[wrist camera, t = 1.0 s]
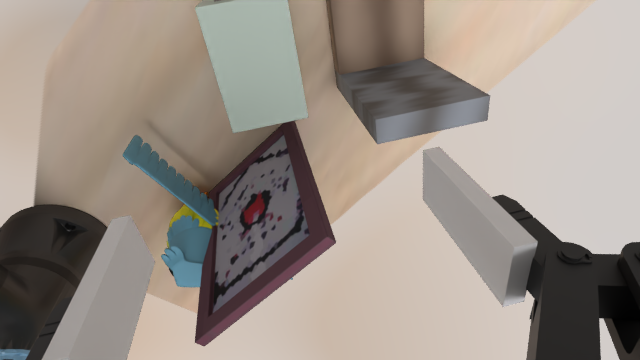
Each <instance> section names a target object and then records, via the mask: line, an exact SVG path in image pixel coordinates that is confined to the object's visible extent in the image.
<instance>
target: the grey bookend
mask: <svg viewBox="0 0 640 360" xmlns="http://www.w3.org/2000/svg"><path fill="white" fill-rule="evenodd" d="M326 3H327V11H328V19H329V27H330V34H331V42H332V50H333V58H334V66H335V74H336V82H337V88H338V89H339V90H340V92H341V93H342V95H343V96H344V98H345V99H346V100H347V102H348V103H349V105H350V106H351V108H352V109H353V110H354V112H355V113H356V115H357V116H358V118H359V119H360V120H361V122H362V123H363V125H364V126H365V128H366V129H367V130H368V132H369V133H370V135H371V136H372V137H373V139H374V140H375V142H376V143H377V144H381V143H385V142H390V141H394V140H399V139H404V138H408V137H413V136H417V135H422V134H427V133H431V132H436V131H441V130H445V129H450V128H454V127H459V126H464V125H468V124H473V123H477V122H482V121H487V119H488V110H489V100H490V95H488V94H486V93H485V92H483V91H481V90H479V89H478V88H476V87H474V86H472V85H471V84H469V83H467V82H465V81H464V80H462V79H460V78H458V77H457V76H455V75H453V74H451V73H450V72H448V71H446V70H444V69H443V68H441V67H439V66H437V65H435V64H434V63H432V62H430V61H428V60H427V59H425V58H424V0H326Z"/></svg>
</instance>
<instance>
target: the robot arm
mask: <svg viewBox="0 0 640 360" xmlns="http://www.w3.org/2000/svg"><path fill="white" fill-rule="evenodd" d="M423 200H424V201H425V203H426V204H427V205H428V207H429V208H430V210H431V211H432V212H433V213H434V215H435V216H436V217H437V219H438V220H439V222H440V223H441V224H442V226H443V227H444V228H445V230H446V231H447V232H448V233H449V235H450V236H451V238H452V239H453V240H454V242H455V243H456V244H457V246H458V247H459V248H460V250H461V251H462V252H463V254H464V255H465V256H466V258H467V259H468V260H469V262H470V263H471V265H472V266H473V267H474V269H475V270H476V271H477V273H478V274H479V275H480V277H481V278H482V279H483V281H484V282H485V283H486V285H487V286H488V287H489V288H490V290H491V291H492V293H493V294H494V295H495V297H496V298H497V299H498V301H499V302H500V303H501V305H502V306H503V307H504V306H508V305H512V304H516V303H520V302H524V299H525V295H526V291H527V290H528V291H529V292H530V294H532V296H533V297H534V298H535V300H534V303H533V307H532V311H531V315H530V319H531V326H530V335H529V343H528V351H527V359H526V360H601V356H600V329H599V318H604V321H605V323H606V326H607V328H608V331H609V333H610V336H611V338H612V341H613V344H614V346H615V349H616V351H617V354H618V356H619V359H620V360H640V242H632V243H629V244H627V245H625V246H624V248H623V249H622V251H621V254H619V255H617V254H592V253H591V252H590V251H589V250H588V249H586V248H584V247H582V246H580V245H577V244H574V243H569V242H562V241H560V240H559V239H558V238H557V237H556V236H555V235H554V234H553V233H551V232H550V231H549V230H548V229H547V228H546V227H545V226H544V225H542V224H541V223H540V222H539V221H538V220H537V219H536V218H533V216H532V215H531V214H530V213H529V212H528V211H525V209H524V208H523V207H522V206H521V205H520V204H519V203H518V202H517V201H515V200H513V199H511V198H509V197H507V196H504V195H499V196H495V197H491V196H490V195H489V194H488V193H487V192H486V191H485V190H483V188H481V187H480V186H479V185H478V184H477V183H476V182H475V181H474V180H473V179H472V178H471V177H470V176H469V175H468V174H467V173H466V172H465V171H464V170H463V169H462V168H461V167H460V166H459V165H458V164H457V163H455V162H454V161H453V160H452V159H451V158H450V157H449V156H448V155H447V154H446V153H445V152H444V151H443V150H442V149H441V148H440V147H436V148H432V149H427V150H423ZM154 263H155V260H154V258H153V256H152V254H151V253H150V251H149V249H148V247H147V245H146V243H145V241H144V240H143V238H142V236H141V234H140V232H139V230H138V228H137V227H136V225H135V223H134V221H133V219H132V217H131V215H128V216H124V217H119V218H115V219H112V220H111V222H110V224H109V226H108V228H106V227H105V226H104V225H103V224H102V223H101V222H99V221H98V220H97V219H95V218H94V217H92V216H90V215H88V214H86V213H84V212H82V211H79V210H76V209H73V208H69V207H64V206H56V205H41V206H34V207H30V208H26V209H23V210H21V211H19V212H17V213H15V214H14V215H12V216H11V217H10V218H9V219H8V220H7V221H6V223H5V224H3V226H2V227H1V228H0V360H127V357H128V353H129V350H130V346H131V343H132V340H133V336H134V333H135V329H136V326H137V322H138V319H139V315H140V312H141V308H142V305H143V301H144V298H145V295H146V291H147V288H148V284H149V281H150V277H151V274H152V270H153V267H154Z"/></svg>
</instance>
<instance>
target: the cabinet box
mask: <svg viewBox="0 0 640 360" xmlns="http://www.w3.org/2000/svg"><path fill="white" fill-rule="evenodd" d="M195 10H196V13H197V17H198V20H199V23H200V26H201V30H202V33H203V36H204V39H205V43H206V46H207V49H208V53H209V56H210V59H211V62H212V66H213V69H214V72H215V76H216V79H217V82H218V85H219V89H220V92H221V95H222V99H223V102H224V105H225V108H226V112H227V115H228V118H229V122H230V125H231V128H232V131H233V133H237V132H242V131H247V130H251V129H256V128H261V127H266V126H270V125H275V124H280V123H285V122H289V121H294V120H299V119H304V118H308V112H307V106H306V101H305V95H304V90H303V84H302V78H301V73H300V67H299V61H298V56H297V50H296V45H295V39H294V33H293V28H292V22H291V16H290V11H289V5H288V0H202V1H201V2H200V3H199V4H198V5H197V6H196V7H195Z"/></svg>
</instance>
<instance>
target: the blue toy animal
mask: <svg viewBox="0 0 640 360" xmlns="http://www.w3.org/2000/svg"><path fill="white" fill-rule="evenodd" d="M142 142H143V140H142V138H141V137H139V136H138V135H135V136H134V137H133V139H132V140H131V142H130V144H129V145H128V147H127V148H126V150H125V152H124V153H123V157H124V158H125V159H126V160H127V161H128V162H129V163H130V164H132V165H133V164H134V165H136V166H137V167H138V168H140V169H141V170H142V171H143V172H145V173H146V174H147V175H148V176H150V177H151V178H152V179H154V180H155V181H156V182H157V183H159V184H160V185H161V186H163V187H164V188H165V189H166V190H168V191H169V192H170V193H171V194H173V195H174V196H175V197H177V198H178V199H179V200H180V201H182V202H183V203H184V205H183V206H182V208H180V210H179V211H177V212H176V213H175V215H174V217H172V219H171V221H170V225H169V231H168V233H167V236H168V241H167V246H168V248H167V249H165V253H166V254H167V255H168V256H167V255H165V254H162V256H161V257H162V259H163V260H164V262H165V263H166V265H167V266H168V267H169V270H170V272H171V274H172V275H173V276H174V278H175V281H176V284H177V286H180V287H200V284H201V273H202V265H203V261H204V257H205V254H206V250H207V247H208V243H209V240H210V237H211V233H212V226H215V225H216V226H217V225H218V218H219V217H218V215H219V213H218V211H217V210H216V209H214V202H213V200H212V199H208V198H207V194H208V192H205V193H201V195H200V190H199V189H198V188H197V187H196V186H194V187H193V186H192V183H191V182H190V181H189V180H186V181H185V184H184V177H183V175H182V174H180V173H178V174H177V176H176V170H175V168H174V167H172V166H169V168H168V163H167V162H166V161H165V160H164V159H161V160H160V162H159V155H158V153H157V152H156V151H153V152H152V153H151V150H152V149H151V146H150V145H149V144H148V143H144V144H143V145H142ZM141 145H142V147H141ZM150 154H151V155H150ZM167 168H168V170H167ZM192 188H193V190H192ZM292 279H293V278H291V280H292Z"/></svg>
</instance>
